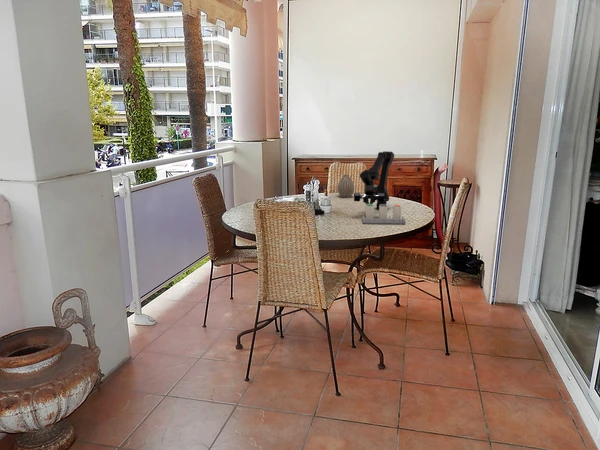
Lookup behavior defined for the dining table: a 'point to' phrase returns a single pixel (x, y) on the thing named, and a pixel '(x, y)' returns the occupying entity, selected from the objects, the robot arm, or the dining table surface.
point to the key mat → (385, 223)
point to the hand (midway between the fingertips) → (369, 208)
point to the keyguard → (383, 220)
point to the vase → (345, 186)
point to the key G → (369, 210)
